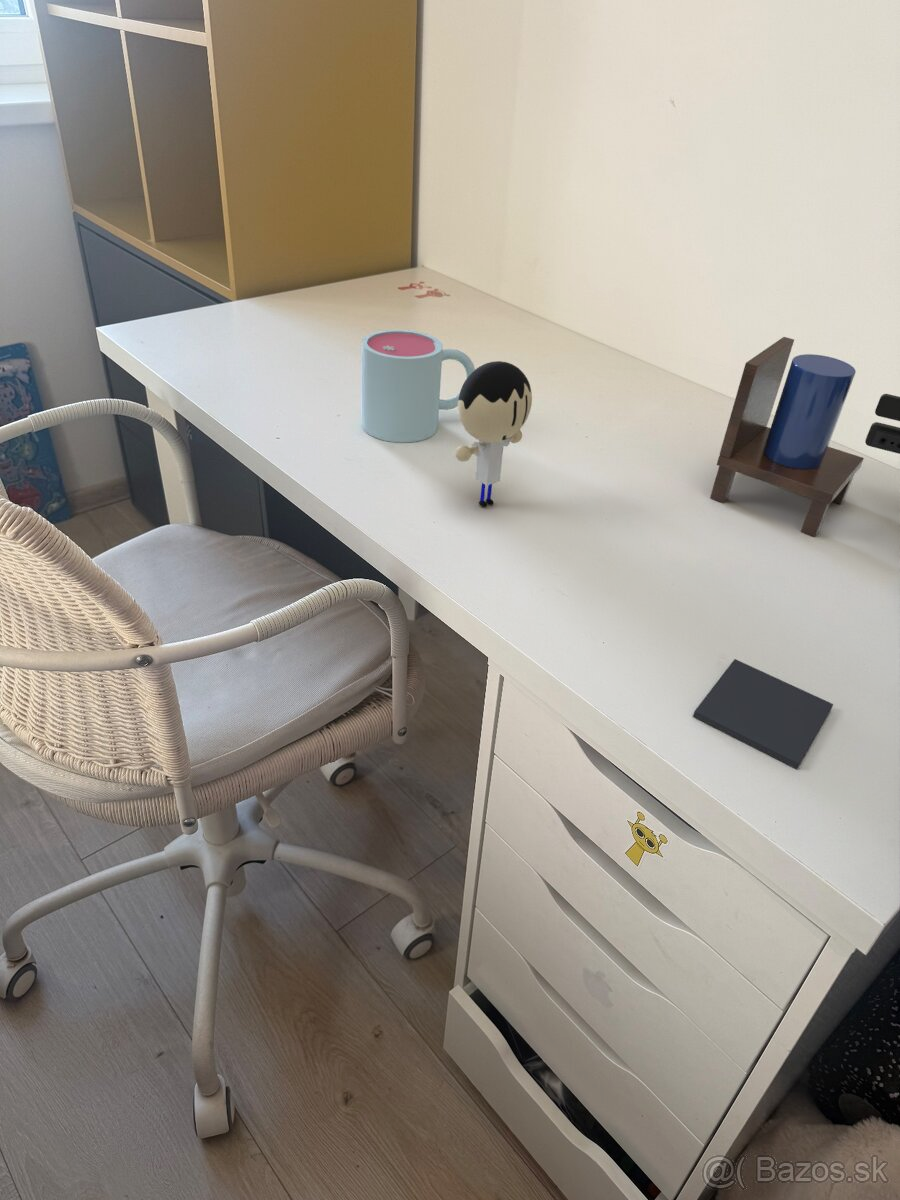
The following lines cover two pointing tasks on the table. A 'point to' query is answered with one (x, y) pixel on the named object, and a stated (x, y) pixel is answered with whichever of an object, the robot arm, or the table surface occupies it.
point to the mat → (764, 712)
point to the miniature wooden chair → (750, 438)
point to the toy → (492, 417)
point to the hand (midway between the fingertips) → (873, 417)
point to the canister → (808, 410)
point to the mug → (404, 384)
